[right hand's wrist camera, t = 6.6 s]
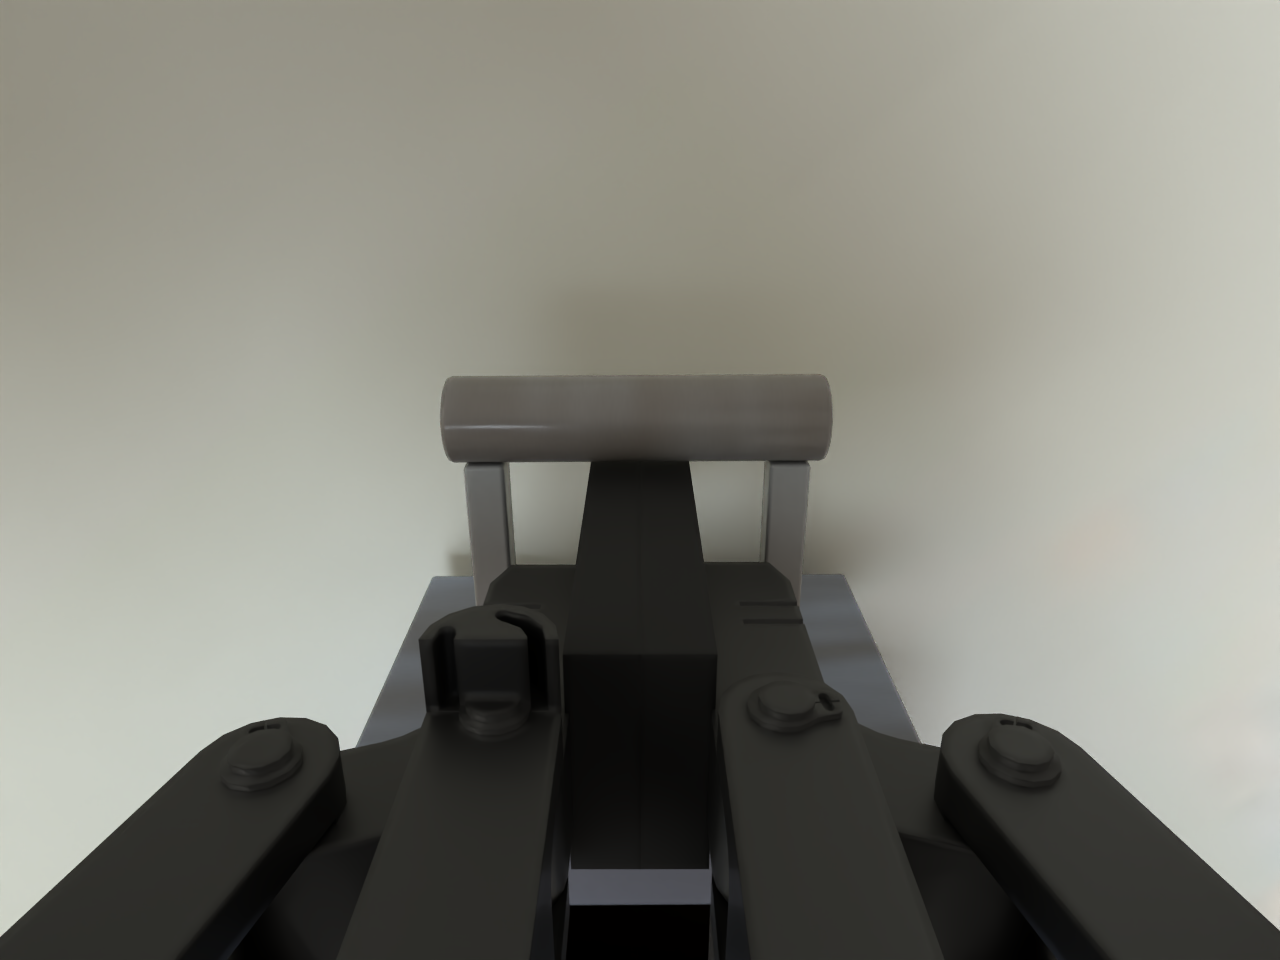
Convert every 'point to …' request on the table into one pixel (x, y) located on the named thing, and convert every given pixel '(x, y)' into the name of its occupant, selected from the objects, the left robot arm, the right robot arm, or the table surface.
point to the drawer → (631, 432)
